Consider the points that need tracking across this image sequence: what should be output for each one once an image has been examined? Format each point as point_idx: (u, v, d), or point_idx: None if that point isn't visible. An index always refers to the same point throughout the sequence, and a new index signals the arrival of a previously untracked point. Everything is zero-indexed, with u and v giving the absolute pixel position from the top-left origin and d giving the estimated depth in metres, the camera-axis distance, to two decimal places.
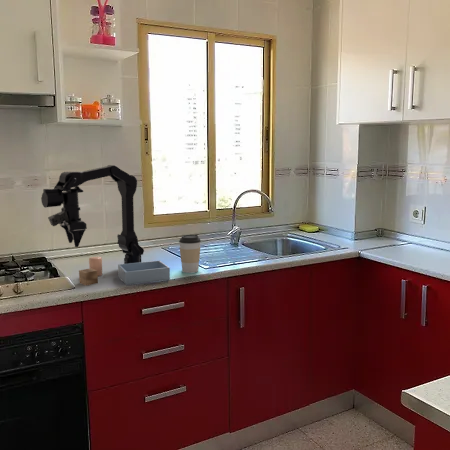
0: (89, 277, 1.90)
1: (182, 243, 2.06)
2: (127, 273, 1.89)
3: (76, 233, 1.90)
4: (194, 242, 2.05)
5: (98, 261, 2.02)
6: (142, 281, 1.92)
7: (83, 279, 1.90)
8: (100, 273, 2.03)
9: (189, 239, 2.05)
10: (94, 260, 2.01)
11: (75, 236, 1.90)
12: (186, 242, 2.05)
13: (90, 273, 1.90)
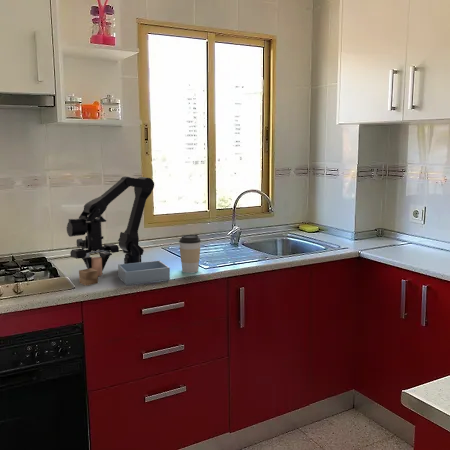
0: (89, 277, 1.90)
1: (182, 243, 2.06)
2: (127, 273, 1.89)
3: (86, 260, 2.01)
4: (194, 242, 2.05)
5: (98, 261, 2.02)
6: (142, 281, 1.92)
7: (83, 279, 1.90)
8: (100, 273, 2.03)
9: (189, 239, 2.05)
10: (94, 260, 2.01)
11: (85, 262, 2.02)
12: (186, 242, 2.05)
13: (90, 273, 1.90)
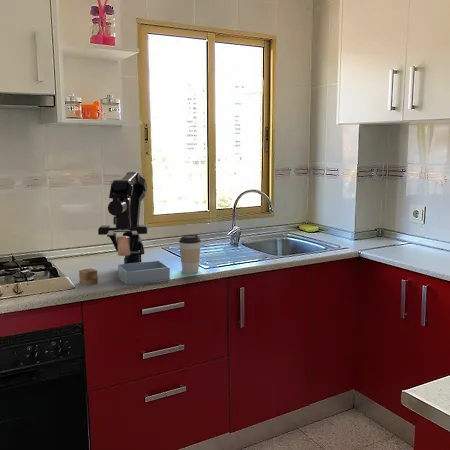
0: (89, 277, 1.90)
1: (182, 243, 2.06)
2: (127, 273, 1.89)
3: None
4: (194, 242, 2.05)
5: (122, 240, 1.96)
6: (142, 281, 1.92)
7: (83, 279, 1.90)
8: (125, 253, 1.98)
9: (189, 239, 2.05)
10: (119, 239, 1.97)
11: None
12: (186, 242, 2.05)
13: (90, 273, 1.90)
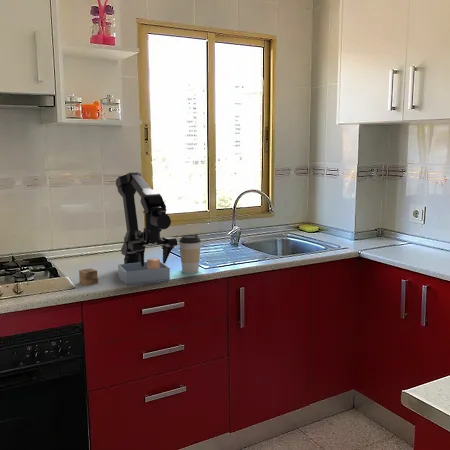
0: (89, 277, 1.90)
1: (182, 243, 2.06)
2: (127, 273, 1.89)
3: (139, 253, 1.94)
4: (194, 242, 2.05)
5: (155, 263, 1.95)
6: (142, 281, 1.92)
7: (83, 279, 1.90)
8: None
9: (189, 239, 2.05)
10: (152, 262, 1.95)
11: (138, 255, 1.94)
12: (186, 242, 2.05)
13: (90, 273, 1.90)
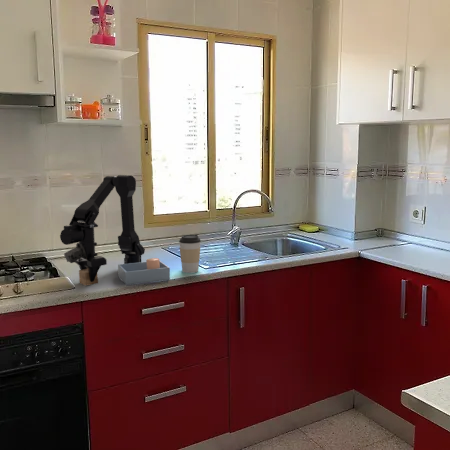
0: (89, 277, 1.90)
1: (182, 243, 2.06)
2: (127, 273, 1.89)
3: (92, 268, 1.89)
4: (194, 242, 2.05)
5: (155, 263, 1.95)
6: (142, 281, 1.92)
7: (83, 279, 1.90)
8: None
9: (189, 239, 2.05)
10: (152, 262, 1.95)
11: (91, 271, 1.89)
12: (186, 242, 2.05)
13: None
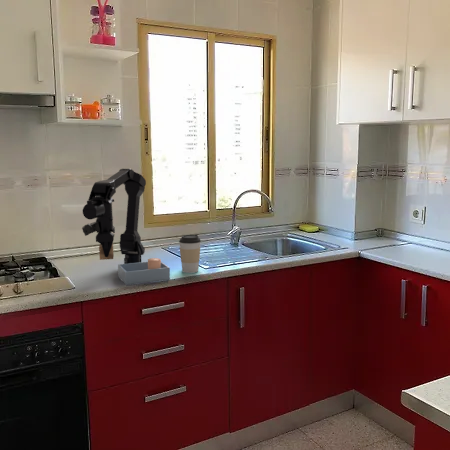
0: (103, 252, 1.91)
1: (182, 243, 2.06)
2: (127, 273, 1.89)
3: (105, 243, 1.90)
4: (194, 242, 2.05)
5: (157, 263, 1.96)
6: (142, 281, 1.92)
7: None
8: None
9: (189, 239, 2.05)
10: (154, 261, 1.95)
11: (104, 246, 1.90)
12: (186, 242, 2.05)
13: None
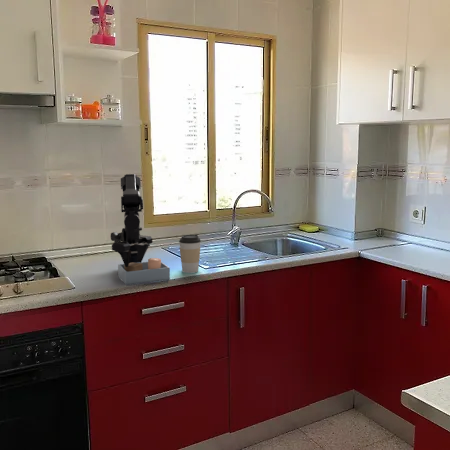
0: (127, 270, 1.97)
1: (182, 243, 2.06)
2: (127, 273, 1.89)
3: (124, 253, 1.93)
4: (194, 242, 2.05)
5: (158, 262, 1.96)
6: (142, 281, 1.92)
7: None
8: None
9: (189, 239, 2.05)
10: (155, 261, 1.95)
11: (123, 256, 1.93)
12: (186, 242, 2.05)
13: (128, 267, 1.97)
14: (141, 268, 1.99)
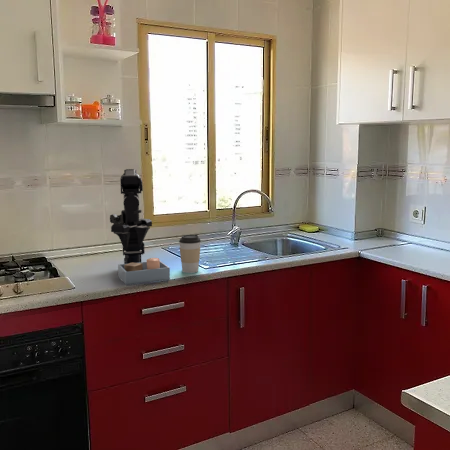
0: (127, 270, 1.97)
1: (182, 243, 2.06)
2: (127, 273, 1.89)
3: (122, 236, 1.91)
4: (194, 242, 2.05)
5: (157, 262, 1.96)
6: (142, 281, 1.92)
7: None
8: None
9: (189, 239, 2.05)
10: (154, 262, 1.95)
11: (121, 238, 1.92)
12: (186, 242, 2.05)
13: (128, 267, 1.97)
14: (141, 268, 1.99)
